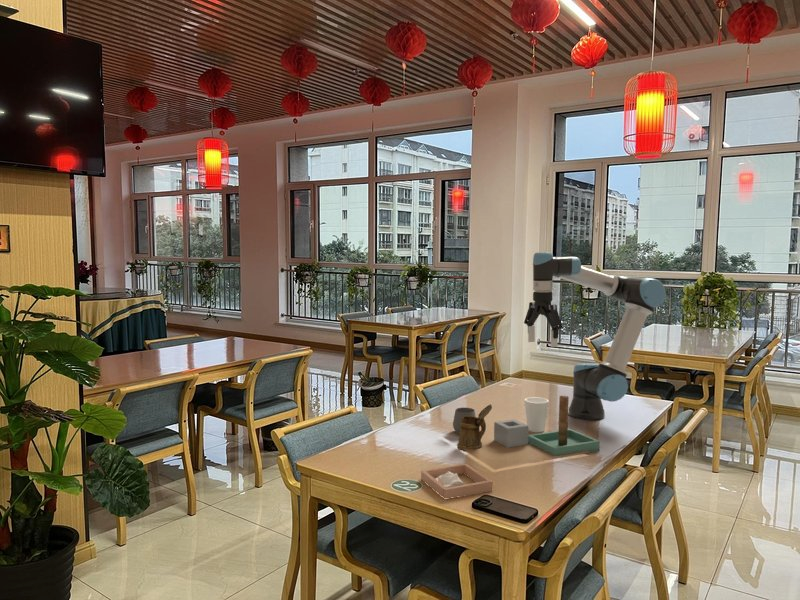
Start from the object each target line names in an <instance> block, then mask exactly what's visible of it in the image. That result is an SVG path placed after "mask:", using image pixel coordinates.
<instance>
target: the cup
mask: <svg viewBox="0 0 800 600" xmlns="http://www.w3.org/2000/svg"><path fill="white" fill-rule="evenodd" d="M464 416H474V417H477V415H476V410H475V409H474V408H473V407H472V408H471V407H458V408H455V411H454V417H453V422H452V427H453V430H454V431H455V433H456V435H460V428H461V426H460V423H461V421H462V417H464Z"/></svg>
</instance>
